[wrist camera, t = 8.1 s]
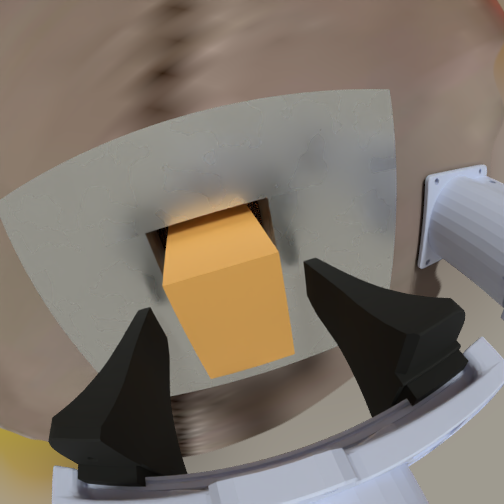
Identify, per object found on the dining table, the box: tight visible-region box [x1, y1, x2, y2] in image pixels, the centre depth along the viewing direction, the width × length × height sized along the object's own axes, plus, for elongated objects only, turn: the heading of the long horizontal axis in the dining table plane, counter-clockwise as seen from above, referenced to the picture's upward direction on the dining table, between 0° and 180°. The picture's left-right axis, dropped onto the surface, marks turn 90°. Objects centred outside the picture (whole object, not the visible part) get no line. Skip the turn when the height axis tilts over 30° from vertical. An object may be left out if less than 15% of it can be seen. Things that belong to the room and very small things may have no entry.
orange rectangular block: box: [162, 203, 295, 379], centre depth 13 cm, size 4×6×6 cm
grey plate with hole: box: [0, 89, 396, 396], centre depth 14 cm, size 20×16×2 cm
